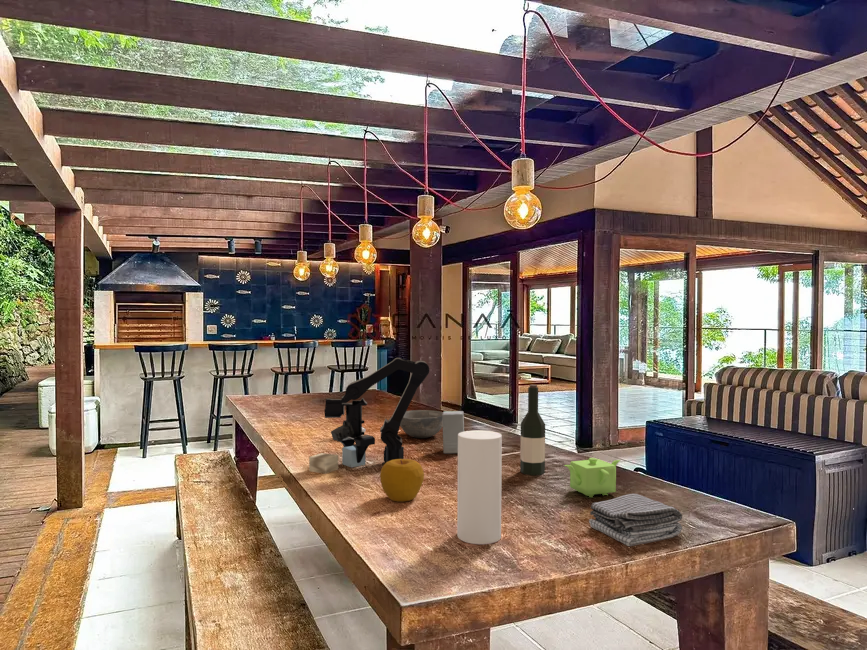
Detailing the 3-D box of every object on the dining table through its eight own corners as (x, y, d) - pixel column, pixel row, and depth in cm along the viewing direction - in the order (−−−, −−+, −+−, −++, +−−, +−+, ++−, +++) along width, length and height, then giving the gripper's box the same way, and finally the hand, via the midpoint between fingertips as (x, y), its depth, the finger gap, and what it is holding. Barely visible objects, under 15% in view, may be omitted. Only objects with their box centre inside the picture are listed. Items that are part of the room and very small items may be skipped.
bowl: (391, 433, 267) (391, 411, 267) (432, 430, 276) (432, 408, 275) (408, 443, 248) (408, 419, 248) (452, 438, 257) (452, 415, 257)
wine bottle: (544, 476, 199) (545, 386, 198) (519, 474, 201) (520, 386, 200) (545, 469, 207) (545, 384, 206) (520, 468, 209) (521, 383, 208)
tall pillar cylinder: (497, 527, 151) (498, 430, 150) (504, 544, 140) (504, 439, 140) (455, 528, 151) (456, 430, 150) (459, 544, 140) (459, 439, 139)
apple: (375, 494, 178) (375, 456, 178) (415, 490, 183) (416, 453, 182) (387, 507, 166) (387, 467, 166) (430, 502, 171) (430, 463, 170)
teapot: (563, 496, 177) (564, 461, 177) (570, 484, 190) (570, 451, 189) (617, 502, 172) (617, 466, 171) (620, 489, 184) (620, 455, 184)
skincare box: (464, 450, 236) (464, 410, 235) (463, 454, 229) (464, 413, 228) (443, 449, 237) (443, 410, 236) (441, 453, 229) (442, 413, 229)
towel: (684, 537, 146) (685, 505, 146) (625, 548, 139) (626, 515, 139) (640, 517, 160) (641, 488, 160) (585, 526, 153) (585, 496, 153)
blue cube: (365, 464, 213) (365, 448, 213) (351, 467, 209) (351, 450, 209) (356, 461, 217) (356, 445, 217) (342, 464, 213) (342, 447, 213)
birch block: (338, 469, 207) (338, 455, 207) (325, 474, 201) (325, 459, 200) (322, 466, 210) (322, 452, 210) (309, 471, 204) (309, 457, 204)
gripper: (321, 416, 215) (320, 459, 215) (348, 424, 200) (348, 470, 201) (347, 413, 222) (347, 454, 222) (376, 420, 208) (375, 464, 208)
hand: (353, 460), depth 213 cm, fingers closed on blue cube, 6 cm apart
